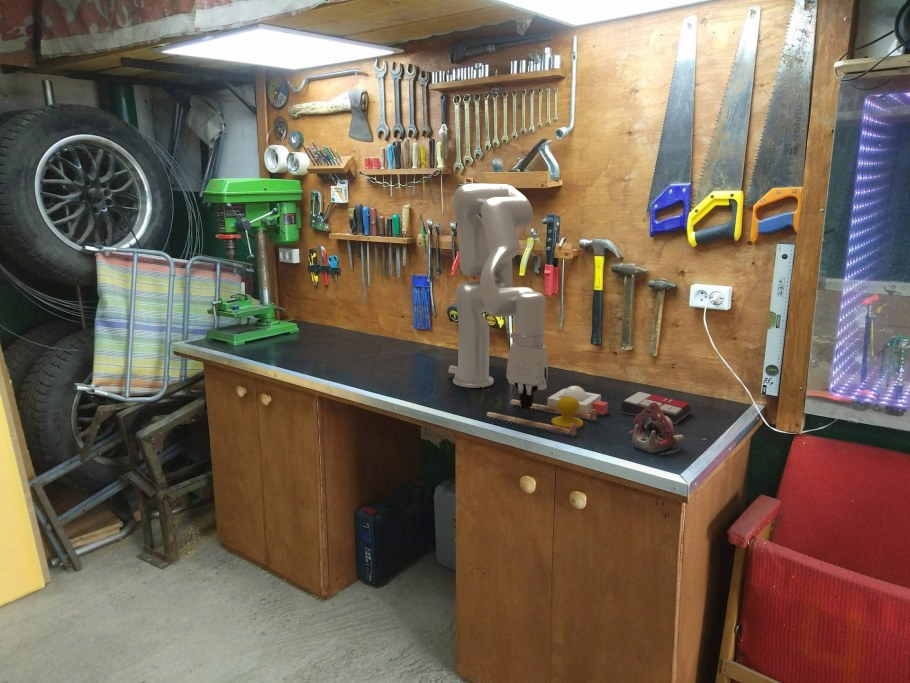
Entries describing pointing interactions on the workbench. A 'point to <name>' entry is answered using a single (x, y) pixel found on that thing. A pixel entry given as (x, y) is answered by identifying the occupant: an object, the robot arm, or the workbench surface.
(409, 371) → the workbench surface
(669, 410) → the grey red flat block
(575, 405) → the doorknob
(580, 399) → the dome
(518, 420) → the wooden brackets
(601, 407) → the dome base
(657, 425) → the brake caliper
